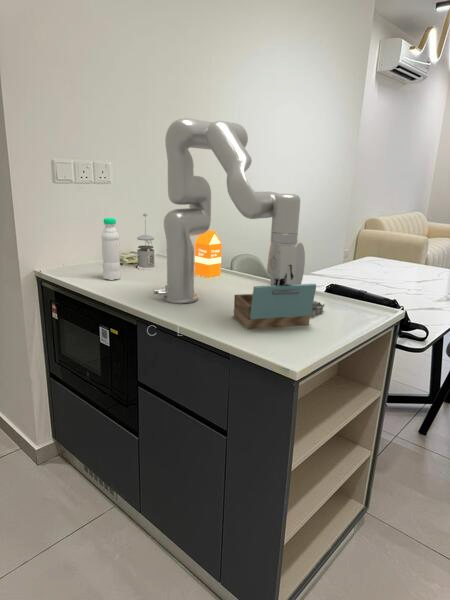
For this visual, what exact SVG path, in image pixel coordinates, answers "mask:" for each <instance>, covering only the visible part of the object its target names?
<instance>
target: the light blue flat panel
mask: <svg viewBox="0 0 450 600" xmlns="http://www.w3.org/2000/svg"><path fill="white" fill-rule="evenodd" d="M252 290H253V292H252V294H253V298H252V306H251V314H250V318H251V319H263V318H279V317H294V316H309V315H311V312H312V306H313V301H315V296H316V290H317V284H316V283H301V284H294V285H271V284H270V285H255V286H254V285H253V289H252Z"/></svg>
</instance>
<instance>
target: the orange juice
mask: <svg viewBox="0 0 450 600" xmlns="http://www.w3.org/2000/svg"><path fill="white" fill-rule="evenodd" d="M222 246H223V245H222V242H221V240H220V238H219V236H218V233H217V231H215V230H210V229H208V231H207V232H206V233H204V234H202V235H197V238H196V240H195V242H194V275H195V274H197V275H200V276H204V277H207V278H206V279H208V278H209V279H211V278H210V277H214V278H216V277H215V276H219V277H221V276H220V275H221V270H222V269H221V268H222ZM197 275H196V276H197ZM200 276H199V277H200ZM204 277H203V278H204Z"/></svg>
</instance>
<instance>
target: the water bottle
mask: <svg viewBox="0 0 450 600" xmlns="http://www.w3.org/2000/svg"><path fill="white" fill-rule="evenodd" d="M116 224H117V219H116V218H115V217H104V218H103V225H104V229H103V231H102V234H101V235H100V236H101V254H102V269H103V270H102V271H103V272H102V275H103V276H102V278H103V277H104V278H107V279H115V278H120V277H121V276H122V274H121V261H120V260H121V251H120V249H121V247H120V234H119V232H118V231H117V228H116ZM104 278H103V279H104ZM120 279H121V278H120Z"/></svg>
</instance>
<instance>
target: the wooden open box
mask: <svg viewBox="0 0 450 600" xmlns="http://www.w3.org/2000/svg"><path fill="white" fill-rule="evenodd" d="M252 298H253V293H243V294H234V298H233V299H234V302H233V304H234V305H233V317H234V318H235V319H236V320H237V321H239V323H240V324H241V325H242V326H243V327H244V328H245V329H246V330H257V329H259V330H260V329H271V328H274V329H275V328H286V327H298V326H299V327H300V326H301V327H302V326H309V325H310V319H311V318H310V315H309V316H294V317H279V318H263V319H251V318H250V314H251V306H252Z"/></svg>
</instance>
